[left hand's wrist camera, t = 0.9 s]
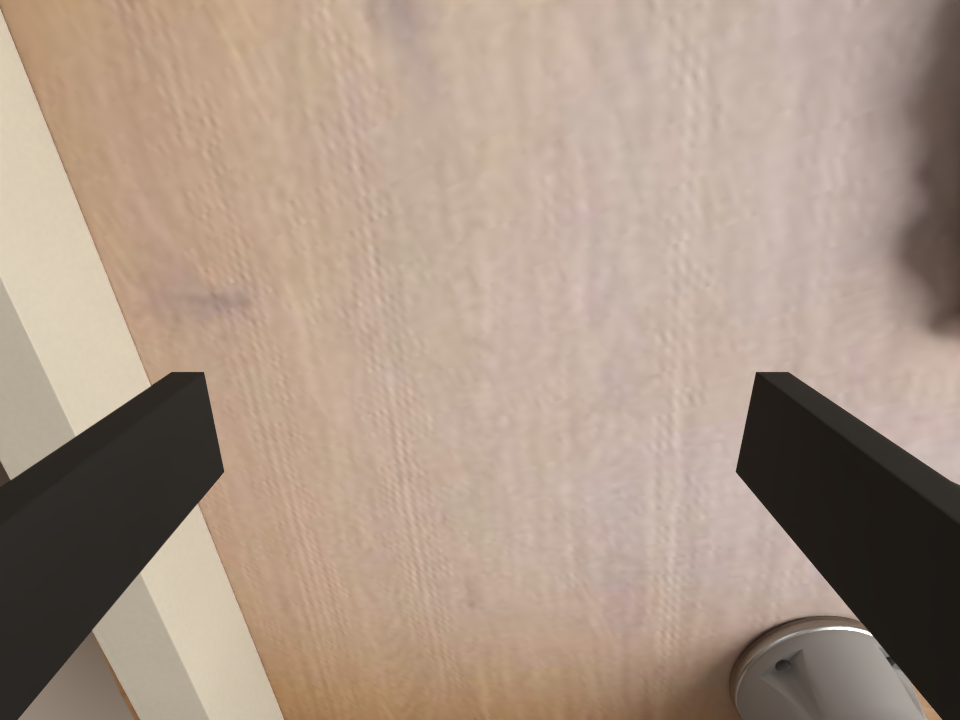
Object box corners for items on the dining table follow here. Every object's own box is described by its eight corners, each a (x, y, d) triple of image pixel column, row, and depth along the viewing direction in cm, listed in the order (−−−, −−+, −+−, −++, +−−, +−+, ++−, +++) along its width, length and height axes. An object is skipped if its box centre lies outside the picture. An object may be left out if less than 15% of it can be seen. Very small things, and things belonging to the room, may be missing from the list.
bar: (-145, -106, 29) (-357, -199, 22) (-52, -124, 29) (-236, -224, 21) (232, 725, 53) (191, 816, 45) (284, 720, 52) (252, 810, 45)
